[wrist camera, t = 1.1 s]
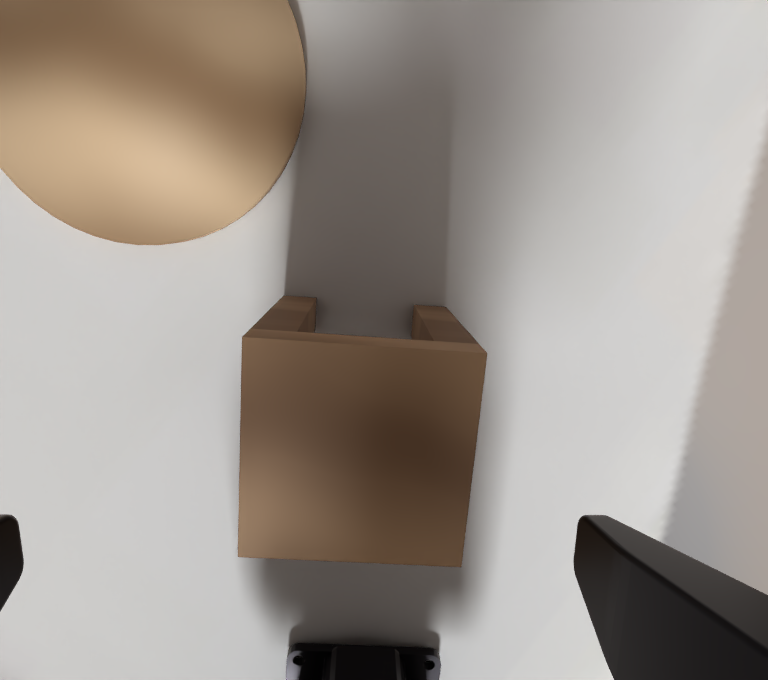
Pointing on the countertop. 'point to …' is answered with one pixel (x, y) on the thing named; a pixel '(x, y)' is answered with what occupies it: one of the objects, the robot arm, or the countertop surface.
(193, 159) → the trivet
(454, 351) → the tan block with prongs
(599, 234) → the countertop surface
